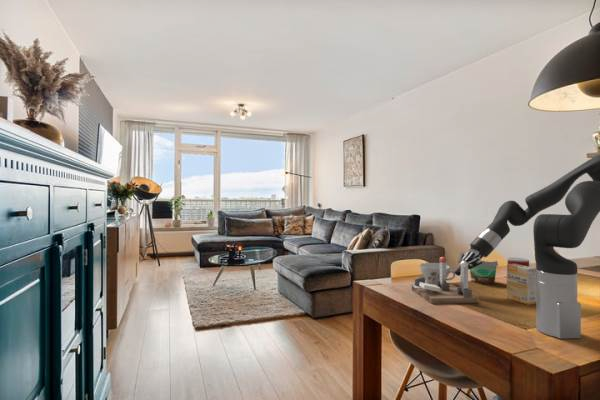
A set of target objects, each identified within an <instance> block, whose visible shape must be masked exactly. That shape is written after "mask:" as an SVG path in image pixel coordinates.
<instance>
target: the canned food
mask: <svg viewBox="0 0 600 400" xmlns="http://www.w3.org/2000/svg"><path fill="white" fill-rule="evenodd" d="M507 264H519V265H524V266H529V267H530V259H528V258H523V257H508V258H507Z"/></svg>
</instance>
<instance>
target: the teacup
mask: <svg viewBox="0 0 600 400" xmlns="http://www.w3.org/2000/svg"><path fill="white" fill-rule="evenodd" d="M419 269H420V272H421V277H425V282H426V283H427V284H437V281H440V262H425V263H423V262H422V263H420V264H419ZM449 274H453V276H452V277H449V278H448V276H449ZM455 277H456V274H455V273H454V270H453V269H451V267H450V265H448V264H446V281H452V280H453V279H455Z"/></svg>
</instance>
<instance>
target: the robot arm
mask: <svg viewBox="0 0 600 400" xmlns="http://www.w3.org/2000/svg"><path fill="white" fill-rule="evenodd" d="M585 174H587V175H588V176H589V177H590V179H591V180H586V181H580V182H578V183H577V184H576V185H574V186H573V184H574V183H575V182H576V181H577V180H578V179H579V178H580V177H582V176H583V175H585ZM572 186H573V187H572ZM571 187H572V189H570V188H571ZM569 190H570V191H569ZM568 191H569V192H568ZM567 192H568V194H567ZM564 197H565V199H564ZM563 199H564V204H565V207H566V209H567V210H568V212H569V213H570V214H560V213H559V214H554V213H552V214H551V213H545V214H544V213H541V214H539V213H540V212H542V211H544V210H546V209H548V208H550V207H553V206H555V205H556V204H558V203H559V202H561V200H563ZM524 201H525V204H526V206H527V208H525V209H524V208H523V207H522V206H520V204H519V203H518V202H517V201H515V200H508V201H505V202H503V204H501V205H500V207H499V208H498V210H497V213H496V214H495V216H494V217H493V219H492V222H491V223H490V224H488V226H487V227H486V228H485V229H484V230H483V231H481V232H480V233H479V234H478V235H477V237H476V238H474V240H473V241H471V243H470V244H469V246H470V249H468V250H467V251H466V252H465V253H464V252H461V253H460V255H459V257H458V258H459V259H458V260H457V264H458V266H457V267H455V269H454V270H453V271H454V273H455V276H457V277H458V276H459V277H461V266H460V263H461V262H462V261H466V262H467V263H468V270H470V269H472V268H474V267H476V266H478V265H480V264H482V263H483V262H482V261H483V260H482V258H487V257H488V256H489V255H490V254H491V253H493V251H495V249H496V248H498V246H499V245H500V243H501V242H502V240H504V238H506V236H507V235H509V234H510V232H511V229H510V226H509V224H510V225H512V226H513V227H519V226H524V225H525V224H527V223H528V222H529V221H530V220H531V219H532V218H533V217H535V216H536V215H537V214H538V215H537V216H536V218H535V219H534V222H533V244H534V245H533V247H534V259H535V265H536V266H535V268H536V304H535V305H536V306H535V307H536V309H535V311H536V314H535V315H536V316H535V317H536V330H537V331H538V332H539V333H542V334H545V335H547V336H550V337H555V338H556V339H557V338H558V339H561V340H562V339H565V340H566V339H581V338H582V333H581V332H582V326H581V325H582V322H581V321H582V319H581V318H582V315H581V313H582V310H581V309H582V307H581V306H582V304H581V303H580V302H579V301H578V265H577V263H576V262H575V261H573V260H571V259H568V258H566V257H565V256H562V255H560V254H559V252H557V251H555V248H560V249H561V248H563V249H575V248H578V247H580V246H581V245H582V244H583V242H584V241H585V238H586V237H587V234H588V233H589V231H590V228H591V226H592V224H593V222H594V220H595V219H596V217H597V216H598V214H599V213H600V154H597V155H596V156H594V157H592V158H590V159H588V160H587V161H585V162H583V163H582V164H580V165H578V166H577V167H575V168H574V169H572V170H570V171H568V173H566V174H564V175H563V176H561V177H560V178H558V179H557V180H555V181H554V182H551V183H550V184H549V185H547V186H544V187H543V188H542V189H539V190H536V191H534V193H532V194H530V195H528V196H526V197H525V200H524ZM508 223H509V224H508Z"/></svg>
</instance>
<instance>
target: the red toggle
mask: <svg viewBox="0 0 600 400" xmlns="http://www.w3.org/2000/svg"><path fill="white" fill-rule="evenodd" d="M438 261H439V263H440V287H441V283H447V280H446V265H447V258H446V257H445V256H441V257H439V260H438Z"/></svg>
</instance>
